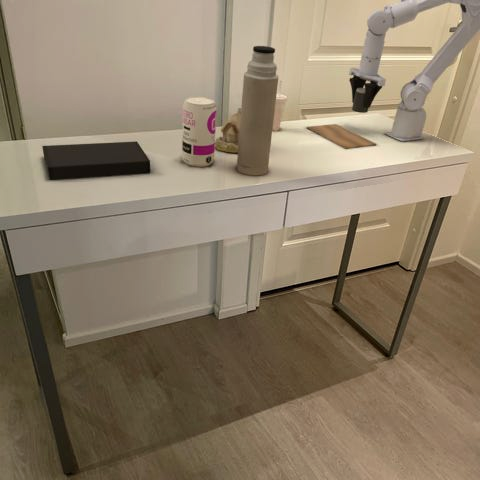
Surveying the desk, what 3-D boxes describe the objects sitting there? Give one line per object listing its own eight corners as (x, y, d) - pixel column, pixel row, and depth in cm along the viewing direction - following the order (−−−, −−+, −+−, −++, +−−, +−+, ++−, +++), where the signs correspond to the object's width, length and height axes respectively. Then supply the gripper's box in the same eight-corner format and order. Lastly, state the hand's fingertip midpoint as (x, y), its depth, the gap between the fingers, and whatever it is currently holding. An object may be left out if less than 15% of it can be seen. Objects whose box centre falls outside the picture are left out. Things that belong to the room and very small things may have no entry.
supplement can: (218, 159, 132) (221, 99, 123) (206, 169, 126) (209, 107, 116) (190, 154, 134) (191, 94, 125) (177, 163, 127) (177, 101, 118)
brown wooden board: (335, 125, 166) (336, 124, 166) (376, 145, 153) (376, 143, 152) (306, 128, 161) (306, 126, 161) (345, 148, 148) (345, 147, 147)
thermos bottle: (230, 167, 128) (238, 44, 111) (251, 161, 133) (263, 42, 116) (252, 177, 124) (264, 51, 107) (274, 171, 129) (289, 49, 112)
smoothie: (283, 132, 155) (290, 84, 146) (263, 131, 155) (268, 82, 146) (282, 126, 160) (288, 79, 151) (262, 124, 160) (267, 77, 151)
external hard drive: (150, 173, 121) (150, 160, 119) (49, 180, 113) (47, 167, 111) (137, 152, 131) (136, 141, 129) (43, 157, 123) (41, 145, 122)
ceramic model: (230, 135, 149) (232, 99, 143) (264, 143, 145) (268, 107, 139) (208, 148, 138) (209, 110, 132) (244, 157, 135) (248, 118, 129)
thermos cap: (360, 107, 161) (365, 87, 158) (370, 112, 158) (375, 91, 154) (348, 108, 159) (352, 87, 155) (358, 113, 156) (363, 92, 152)
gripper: (345, 52, 153) (336, 99, 161) (377, 62, 143) (366, 112, 151) (363, 52, 156) (353, 98, 164) (395, 62, 146) (383, 111, 154)
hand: (360, 105), depth 158 cm, fingers closed on thermos cap, 5 cm apart
